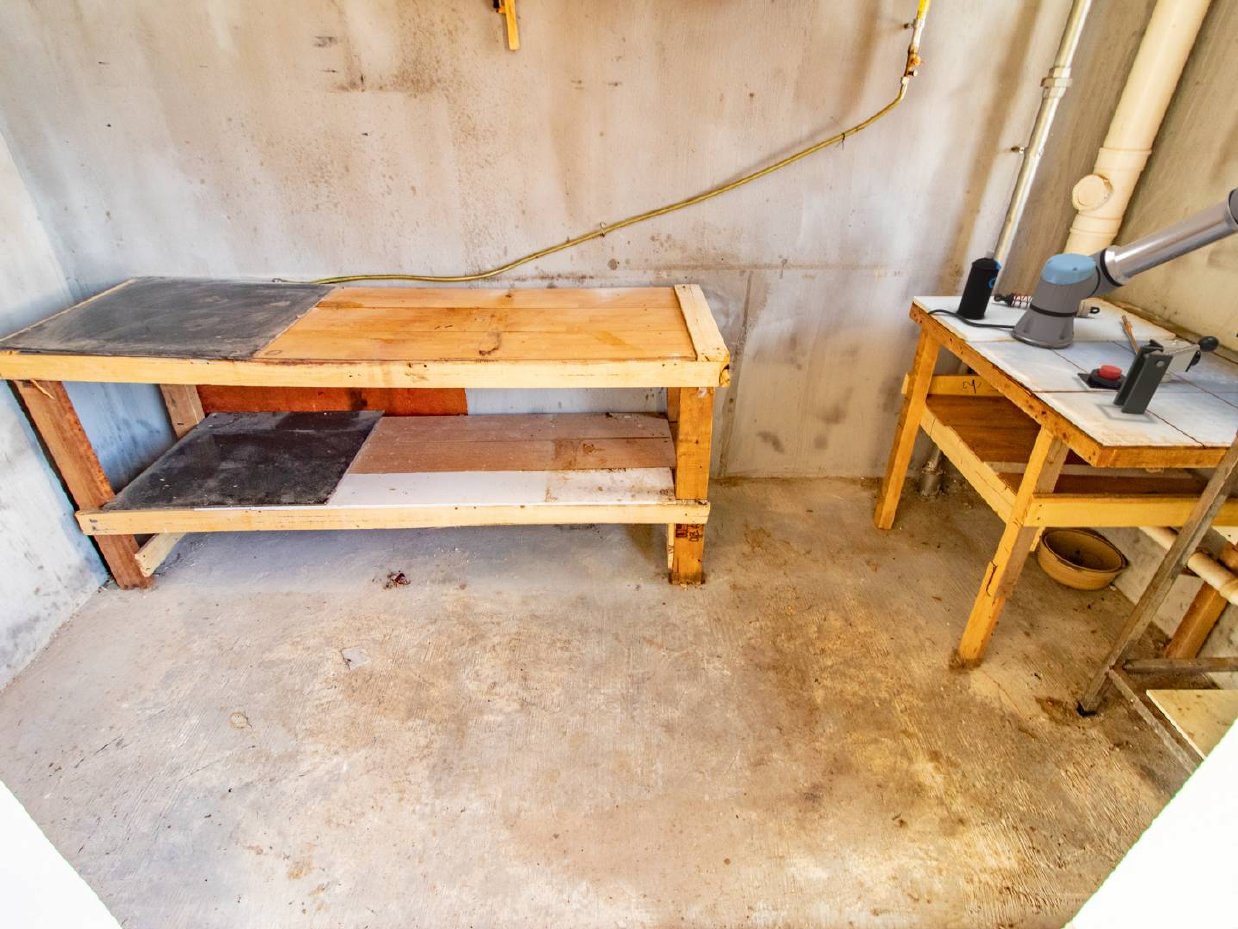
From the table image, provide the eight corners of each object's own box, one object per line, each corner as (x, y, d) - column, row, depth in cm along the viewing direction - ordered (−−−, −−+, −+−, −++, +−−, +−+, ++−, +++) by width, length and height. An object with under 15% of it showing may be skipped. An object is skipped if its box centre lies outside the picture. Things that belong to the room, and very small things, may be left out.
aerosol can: (956, 317, 204) (977, 252, 193) (955, 309, 210) (975, 246, 199) (985, 321, 202) (1007, 256, 191) (983, 312, 208) (1004, 249, 197)
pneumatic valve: (1184, 389, 164) (1208, 345, 158) (1134, 386, 165) (1156, 341, 159) (1171, 380, 169) (1195, 336, 162) (1123, 376, 170) (1144, 333, 163)
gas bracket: (1138, 408, 155) (1171, 346, 146) (1153, 422, 149) (1188, 359, 141) (1098, 404, 156) (1127, 343, 148) (1111, 418, 151) (1142, 355, 142)
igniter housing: (1116, 382, 167) (1123, 369, 165) (1131, 396, 160) (1138, 383, 158) (1074, 378, 168) (1080, 366, 166) (1088, 392, 162) (1094, 379, 160)
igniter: (1113, 373, 164) (1117, 365, 163) (1121, 380, 161) (1125, 373, 159) (1094, 371, 165) (1098, 364, 164) (1102, 379, 161) (1106, 371, 160)
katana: (1136, 366, 178) (1140, 357, 176) (1119, 320, 203) (1123, 312, 202) (1141, 367, 177) (1146, 358, 176) (1124, 321, 203) (1128, 312, 201)
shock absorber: (995, 296, 211) (1102, 310, 201) (996, 286, 214) (1103, 300, 203) (990, 307, 215) (1096, 321, 205) (992, 298, 218) (1096, 311, 207)
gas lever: (1213, 345, 143) (1213, 331, 142) (1222, 352, 140) (1223, 337, 139) (1142, 364, 148) (1141, 350, 146) (1150, 370, 145) (1149, 356, 143)
